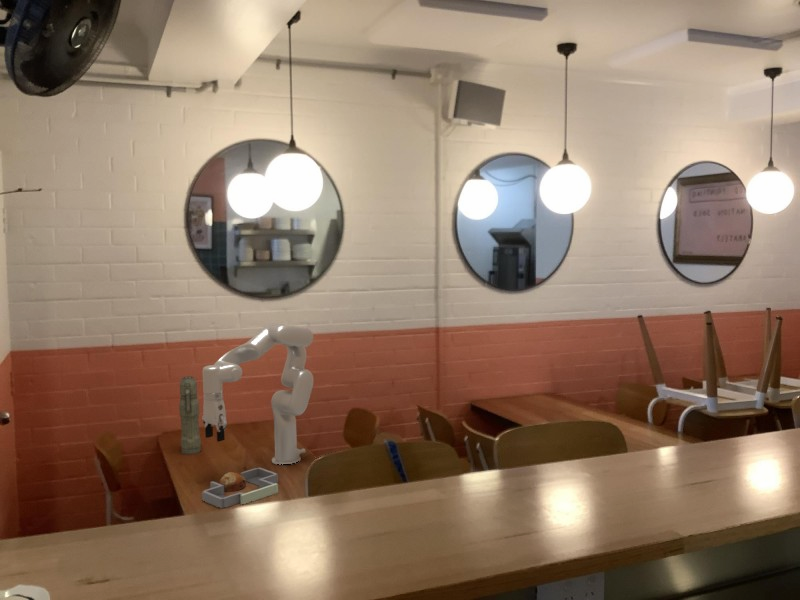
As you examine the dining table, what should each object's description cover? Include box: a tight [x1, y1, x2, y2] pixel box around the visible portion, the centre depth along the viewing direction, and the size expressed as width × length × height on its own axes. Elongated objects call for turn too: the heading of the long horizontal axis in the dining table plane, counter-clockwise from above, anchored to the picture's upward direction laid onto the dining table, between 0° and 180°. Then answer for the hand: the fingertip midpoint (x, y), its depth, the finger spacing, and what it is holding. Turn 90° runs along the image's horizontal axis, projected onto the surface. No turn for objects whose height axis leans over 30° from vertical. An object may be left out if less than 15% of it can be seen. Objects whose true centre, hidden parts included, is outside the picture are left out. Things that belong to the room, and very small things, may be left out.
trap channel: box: [201, 467, 279, 509], centre depth 283 cm, size 31×22×4 cm
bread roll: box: [218, 471, 247, 493], centre depth 288 cm, size 10×10×8 cm
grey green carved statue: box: [178, 376, 202, 456], centre depth 335 cm, size 9×12×35 cm
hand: (215, 438), depth 294 cm, fingers open, 7 cm apart
